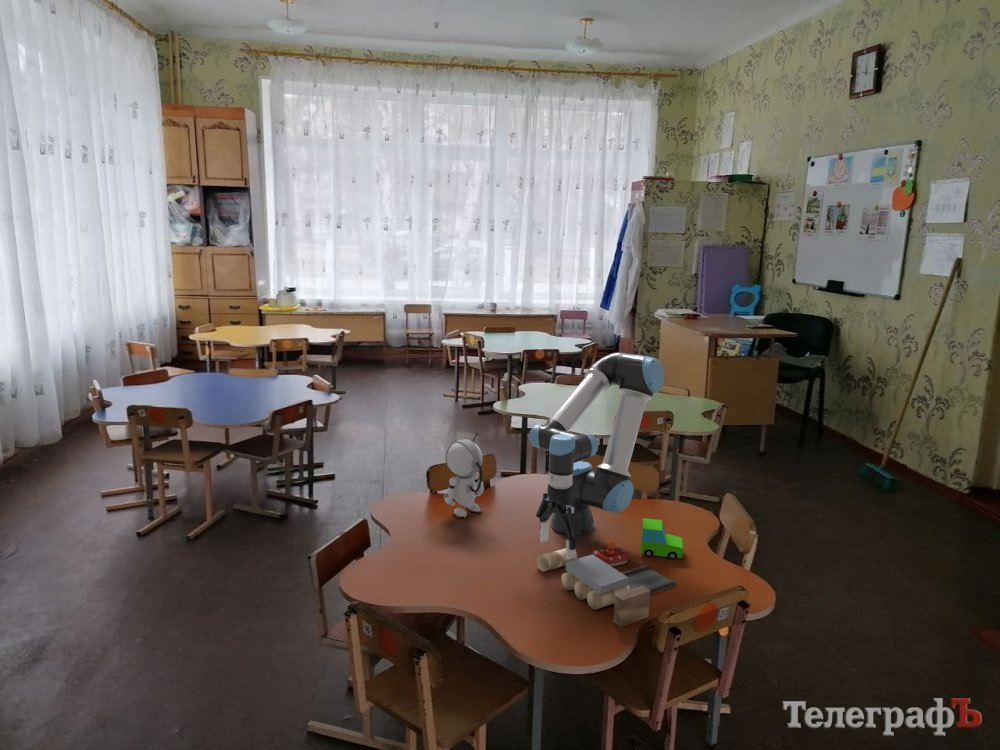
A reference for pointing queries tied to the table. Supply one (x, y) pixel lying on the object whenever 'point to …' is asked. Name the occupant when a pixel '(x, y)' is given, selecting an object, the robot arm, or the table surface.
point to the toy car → (659, 541)
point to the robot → (464, 475)
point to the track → (623, 594)
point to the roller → (553, 560)
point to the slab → (596, 574)
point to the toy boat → (612, 554)
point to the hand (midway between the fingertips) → (556, 549)
